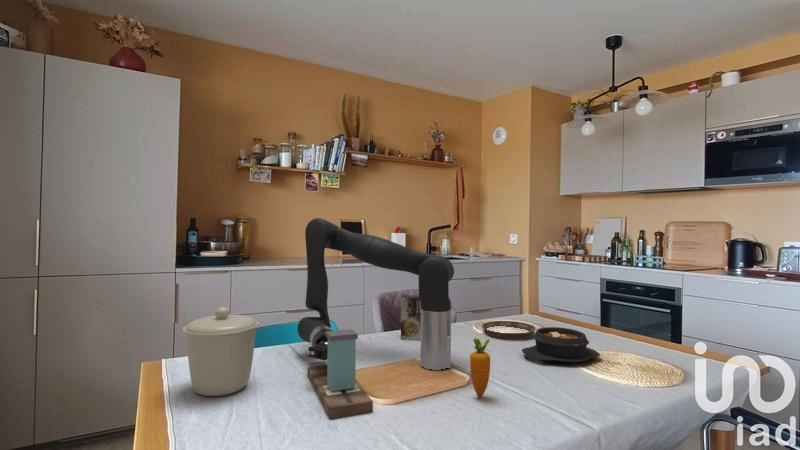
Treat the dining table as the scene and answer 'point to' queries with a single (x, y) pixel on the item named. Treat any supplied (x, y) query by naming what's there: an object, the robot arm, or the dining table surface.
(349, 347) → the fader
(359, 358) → the dining table surface
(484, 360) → the carrot
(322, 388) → the grooved wooden base
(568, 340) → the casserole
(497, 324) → the plant saucer
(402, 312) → the coffee box
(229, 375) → the canister
